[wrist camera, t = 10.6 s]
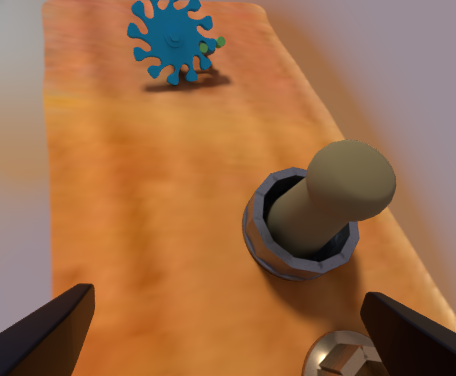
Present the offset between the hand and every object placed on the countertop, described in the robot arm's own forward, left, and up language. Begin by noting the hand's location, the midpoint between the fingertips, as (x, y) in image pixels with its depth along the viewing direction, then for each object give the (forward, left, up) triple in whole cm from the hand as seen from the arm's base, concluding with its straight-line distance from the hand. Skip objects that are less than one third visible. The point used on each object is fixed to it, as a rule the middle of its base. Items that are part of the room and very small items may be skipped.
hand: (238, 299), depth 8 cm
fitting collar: (+8, -7, -14) cm, 18 cm away
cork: (+8, -7, -13) cm, 17 cm away
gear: (+28, +8, -14) cm, 32 cm away
